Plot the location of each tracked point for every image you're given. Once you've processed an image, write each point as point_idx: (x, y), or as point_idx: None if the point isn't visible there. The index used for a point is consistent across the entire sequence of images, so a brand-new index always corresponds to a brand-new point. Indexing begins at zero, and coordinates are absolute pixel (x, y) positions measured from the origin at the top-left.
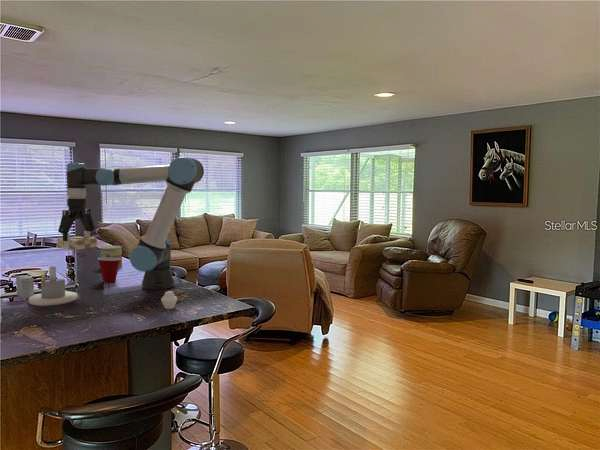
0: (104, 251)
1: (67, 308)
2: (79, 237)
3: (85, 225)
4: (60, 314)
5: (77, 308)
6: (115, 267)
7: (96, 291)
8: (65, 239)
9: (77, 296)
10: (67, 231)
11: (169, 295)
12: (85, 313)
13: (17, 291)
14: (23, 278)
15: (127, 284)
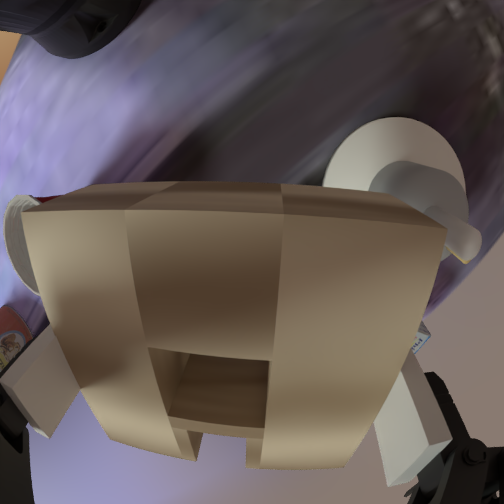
0: (3, 362)
1: (458, 85)
2: (134, 412)
3: (9, 484)
4: (494, 75)
5: (447, 56)
6: (51, 197)
7: (234, 133)
8: (444, 386)
9: (354, 130)
10: (472, 470)
11: None
12: (465, 17)
13: None
14: (418, 343)
15: (97, 115)
